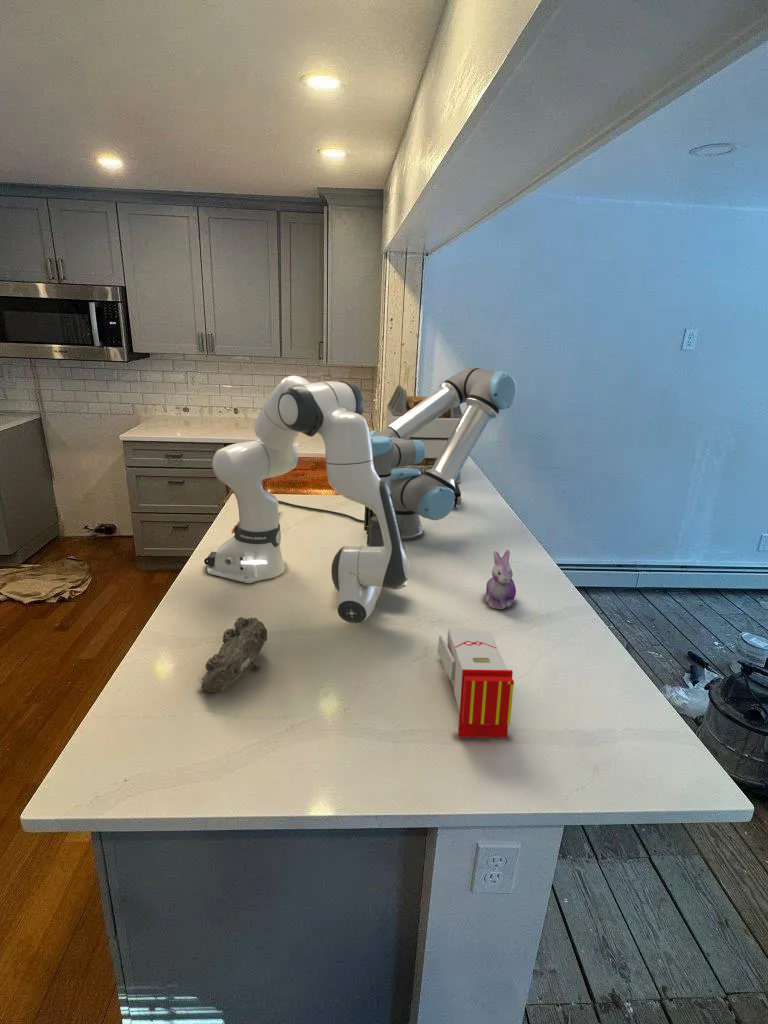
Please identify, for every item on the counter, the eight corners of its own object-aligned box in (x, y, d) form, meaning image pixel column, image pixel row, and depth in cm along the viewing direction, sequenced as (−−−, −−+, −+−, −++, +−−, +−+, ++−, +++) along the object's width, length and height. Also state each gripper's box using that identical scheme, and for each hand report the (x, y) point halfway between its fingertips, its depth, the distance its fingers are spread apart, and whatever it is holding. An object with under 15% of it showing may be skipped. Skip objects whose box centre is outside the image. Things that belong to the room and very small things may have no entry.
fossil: (219, 620, 133) (266, 590, 128) (247, 647, 136) (294, 619, 131) (181, 686, 113) (234, 654, 108) (214, 717, 116) (267, 687, 111)
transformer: (382, 463, 289) (386, 382, 275) (445, 464, 293) (451, 384, 279) (390, 482, 257) (394, 392, 243) (460, 483, 261) (468, 394, 247)
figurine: (497, 613, 149) (504, 562, 144) (474, 596, 158) (480, 547, 153) (525, 606, 154) (532, 556, 149) (501, 590, 162) (508, 542, 157)
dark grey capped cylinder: (386, 584, 163) (389, 518, 156) (376, 589, 160) (378, 522, 153) (374, 579, 166) (376, 514, 159) (364, 584, 162) (366, 518, 156)
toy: (488, 613, 130) (523, 677, 101) (484, 667, 133) (517, 744, 104) (435, 612, 130) (455, 676, 101) (432, 666, 133) (451, 743, 103)
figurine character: (461, 514, 225) (456, 498, 239) (463, 497, 222) (458, 482, 235) (444, 513, 225) (440, 498, 239) (446, 496, 222) (442, 481, 235)
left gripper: (405, 577, 146) (413, 556, 159) (329, 568, 149) (342, 547, 162) (404, 599, 148) (411, 576, 161) (328, 589, 151) (342, 567, 164)
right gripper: (354, 480, 178) (352, 548, 186) (380, 498, 163) (376, 571, 171) (376, 478, 181) (373, 545, 189) (403, 495, 166) (398, 567, 174)
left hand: (376, 562), depth 161 cm, fingers closed on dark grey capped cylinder, 4 cm apart
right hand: (374, 557), depth 180 cm, fingers closed on lid, 5 cm apart
